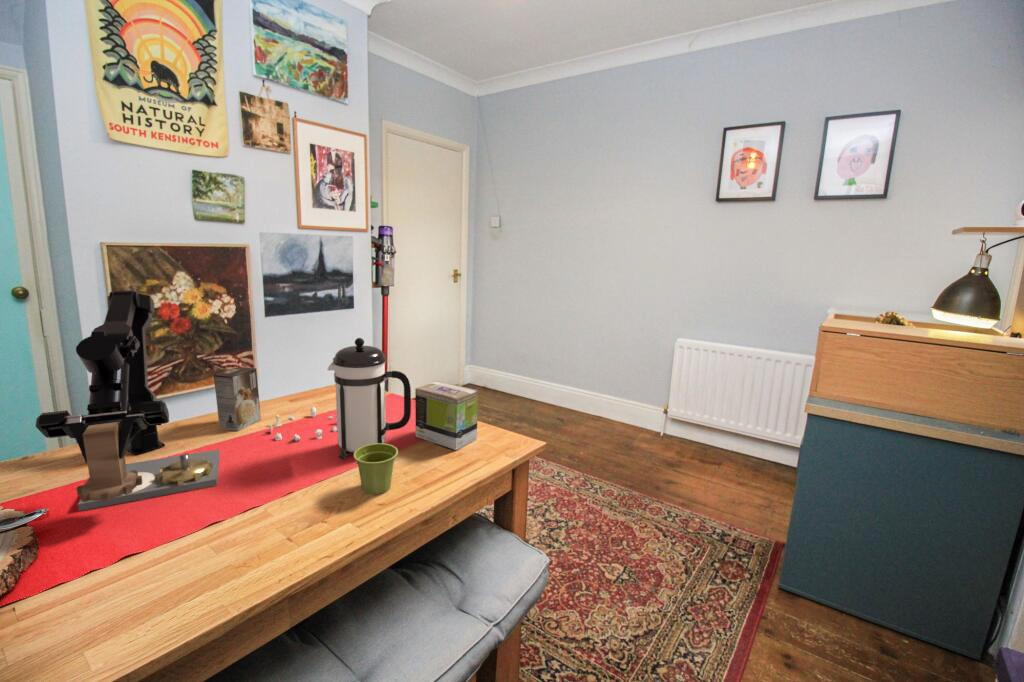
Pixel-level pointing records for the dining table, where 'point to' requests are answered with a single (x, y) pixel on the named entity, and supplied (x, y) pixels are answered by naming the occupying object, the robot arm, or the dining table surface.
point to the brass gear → (185, 470)
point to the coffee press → (364, 397)
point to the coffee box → (237, 398)
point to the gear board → (156, 488)
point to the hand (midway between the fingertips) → (104, 460)
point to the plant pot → (376, 466)
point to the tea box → (446, 414)
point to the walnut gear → (106, 465)
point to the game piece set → (296, 437)
